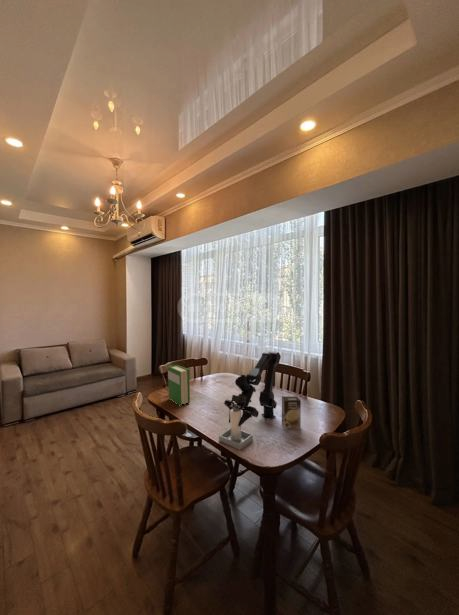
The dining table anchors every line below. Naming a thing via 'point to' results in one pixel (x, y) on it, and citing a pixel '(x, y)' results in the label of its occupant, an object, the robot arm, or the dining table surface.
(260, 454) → the dining table surface
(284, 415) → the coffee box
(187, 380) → the hardback book
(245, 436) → the tray
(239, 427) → the cream bottle
